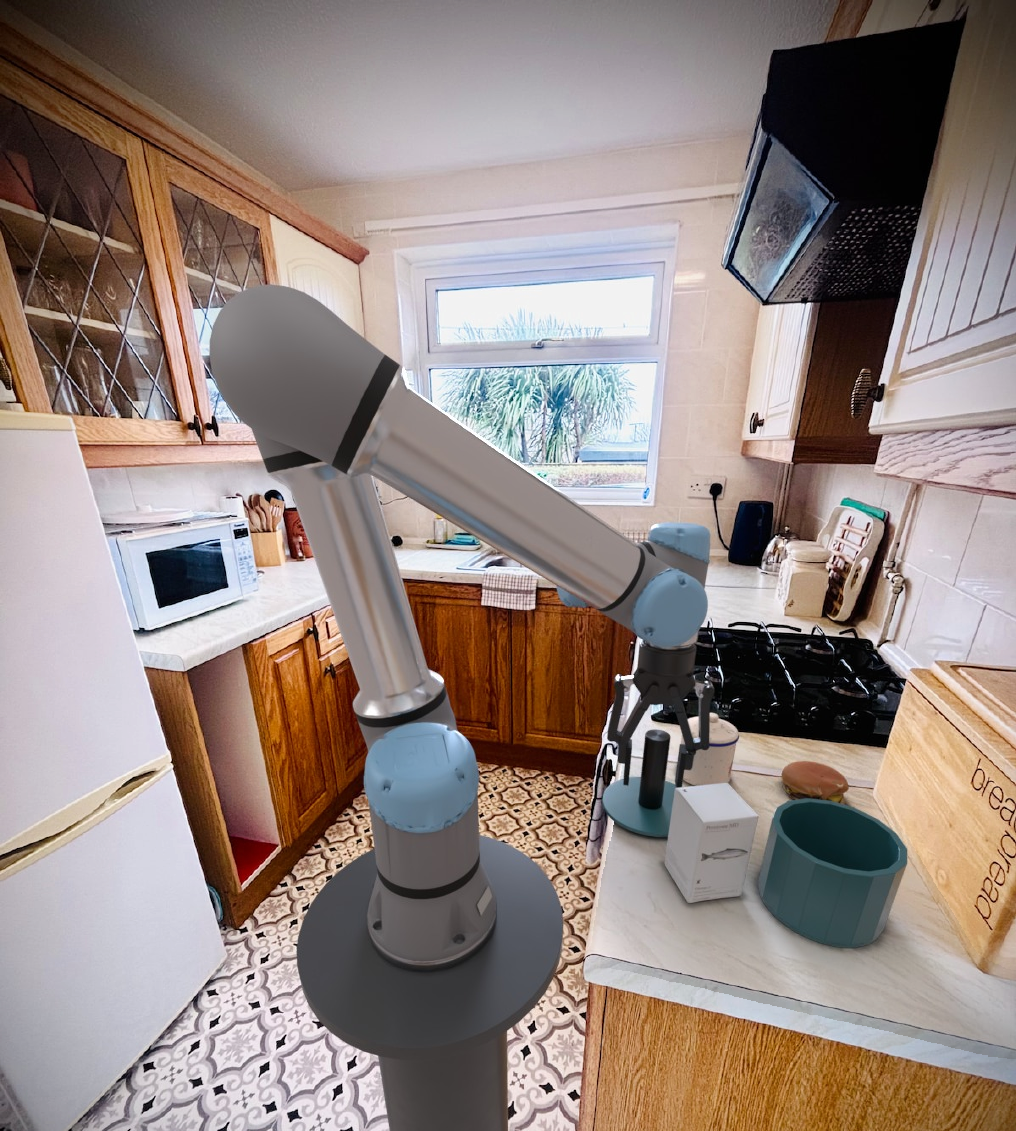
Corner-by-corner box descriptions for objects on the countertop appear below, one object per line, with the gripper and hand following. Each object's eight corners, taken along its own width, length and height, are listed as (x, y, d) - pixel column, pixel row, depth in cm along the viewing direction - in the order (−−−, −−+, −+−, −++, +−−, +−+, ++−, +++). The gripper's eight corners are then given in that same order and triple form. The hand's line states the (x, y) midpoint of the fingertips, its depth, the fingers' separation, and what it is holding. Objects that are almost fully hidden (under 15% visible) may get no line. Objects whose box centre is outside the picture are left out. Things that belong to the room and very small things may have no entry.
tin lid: (599, 833, 80) (605, 755, 75) (604, 778, 93) (609, 709, 88) (703, 846, 77) (717, 766, 72) (693, 787, 90) (704, 717, 85)
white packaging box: (687, 905, 67) (701, 822, 62) (662, 863, 74) (673, 785, 69) (743, 898, 68) (760, 815, 63) (713, 857, 75) (727, 780, 70)
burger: (789, 771, 94) (795, 748, 92) (850, 792, 89) (857, 768, 87) (770, 797, 88) (776, 772, 86) (835, 822, 82) (842, 796, 80)
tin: (771, 936, 63) (789, 865, 59) (748, 856, 75) (762, 793, 71) (903, 957, 60) (931, 884, 56) (857, 870, 72) (877, 805, 68)
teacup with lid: (741, 788, 90) (752, 726, 85) (687, 791, 89) (696, 729, 84) (710, 751, 101) (719, 694, 96) (662, 753, 100) (669, 696, 95)
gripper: (592, 645, 72) (584, 789, 81) (751, 655, 69) (724, 805, 78) (595, 628, 79) (587, 763, 88) (740, 636, 75) (716, 776, 84)
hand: (651, 782), depth 83 cm, fingers open, 7 cm apart
